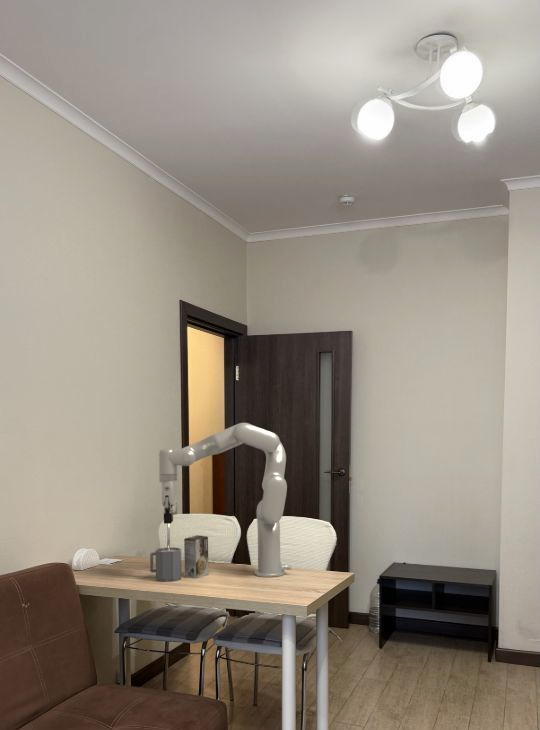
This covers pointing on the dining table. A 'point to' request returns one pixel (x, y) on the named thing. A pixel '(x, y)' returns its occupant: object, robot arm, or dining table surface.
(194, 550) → the coffee box
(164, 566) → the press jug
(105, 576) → the dining table surface
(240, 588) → the dining table surface
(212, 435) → the robot arm
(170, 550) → the plunger
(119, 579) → the dining table surface
